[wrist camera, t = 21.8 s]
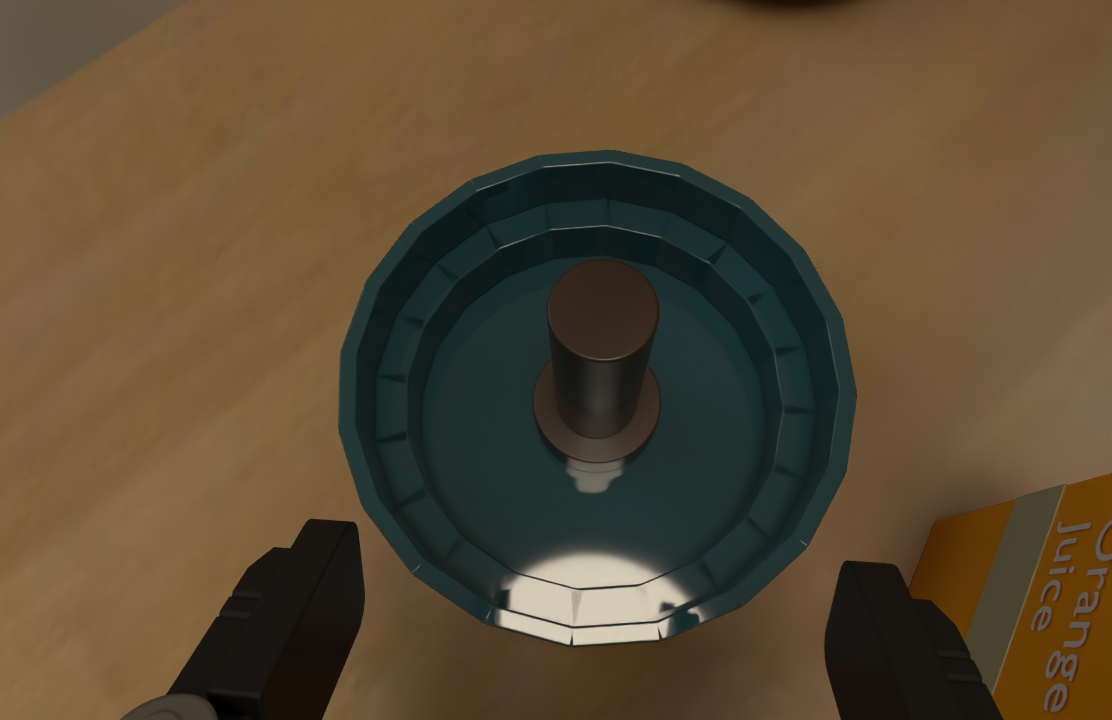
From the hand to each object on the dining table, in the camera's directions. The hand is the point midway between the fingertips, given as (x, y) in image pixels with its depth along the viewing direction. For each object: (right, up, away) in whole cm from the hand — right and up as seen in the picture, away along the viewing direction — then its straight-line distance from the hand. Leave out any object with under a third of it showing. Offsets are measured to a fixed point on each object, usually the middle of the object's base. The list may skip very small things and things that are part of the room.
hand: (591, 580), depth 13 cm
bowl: (+1, +1, +19) cm, 19 cm away
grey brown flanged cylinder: (+1, +2, +18) cm, 18 cm away
